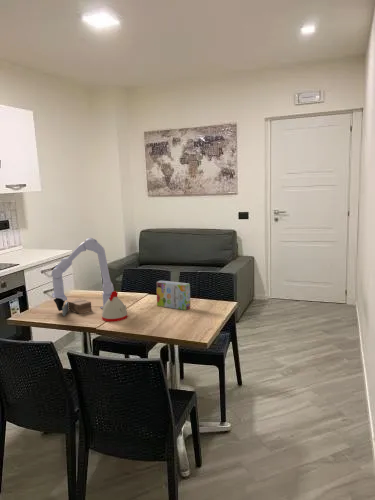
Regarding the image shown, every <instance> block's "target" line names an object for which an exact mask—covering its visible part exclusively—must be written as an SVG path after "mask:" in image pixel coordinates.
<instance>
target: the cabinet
mask: <svg viewBox="0 0 375 500" xmlns="http://www.w3.org/2000/svg"><path fill="white" fill-rule="evenodd" d="M67 302H68V306H69V310H68V311H70V310H72V311H71V312H73V311H74V312H73V313H75V314H79V315H81V314H85V313H87V312H91V311H92V302H91V301H89V300H86V299H82V298H77V299H73V300H69V301H68V300H67ZM84 312H85V313H84Z"/></svg>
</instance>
